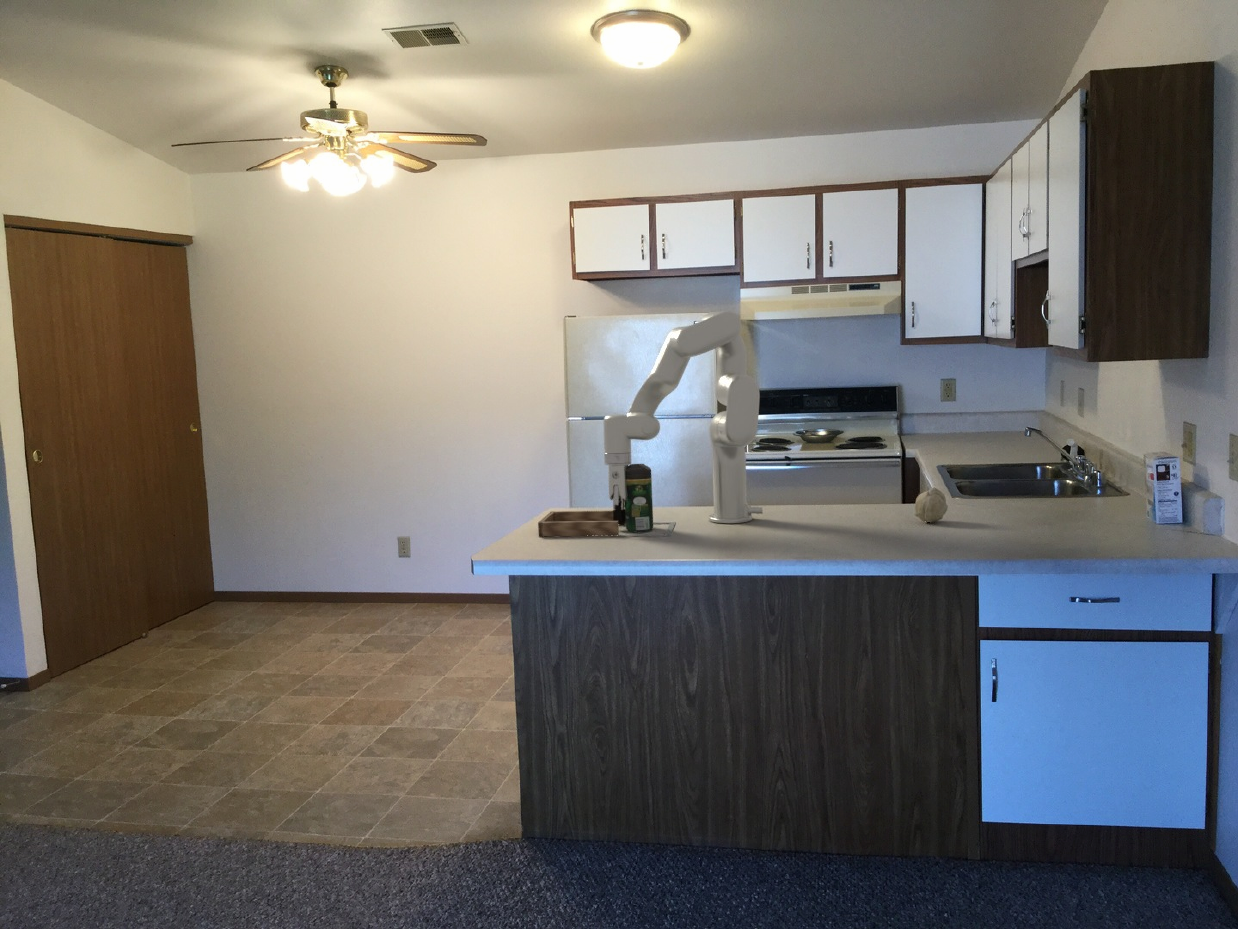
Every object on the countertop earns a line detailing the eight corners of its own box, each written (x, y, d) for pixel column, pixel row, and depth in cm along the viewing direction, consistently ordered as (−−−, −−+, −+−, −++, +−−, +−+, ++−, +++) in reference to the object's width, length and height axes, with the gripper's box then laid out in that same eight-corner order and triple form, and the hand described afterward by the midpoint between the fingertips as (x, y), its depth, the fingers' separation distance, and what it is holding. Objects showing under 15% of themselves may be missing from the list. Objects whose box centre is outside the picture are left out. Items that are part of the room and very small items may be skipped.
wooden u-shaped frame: (626, 524, 282) (625, 510, 282) (618, 536, 265) (617, 521, 264) (551, 524, 285) (550, 511, 285) (538, 536, 268) (538, 522, 268)
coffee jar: (625, 526, 278) (622, 462, 275) (652, 526, 278) (650, 461, 275) (625, 533, 268) (623, 466, 266) (654, 532, 268) (652, 465, 266)
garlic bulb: (945, 519, 270) (945, 484, 269) (952, 525, 262) (952, 489, 261) (910, 520, 271) (910, 485, 270) (916, 526, 263) (916, 489, 262)
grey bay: (675, 522, 281) (675, 522, 281) (670, 536, 262) (670, 535, 262) (626, 523, 283) (626, 522, 283) (617, 536, 264) (617, 535, 264)
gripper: (627, 462, 263) (629, 528, 265) (634, 455, 278) (635, 518, 280) (600, 462, 264) (602, 528, 266) (608, 455, 279) (610, 518, 281)
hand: (619, 523), depth 273 cm, fingers closed
